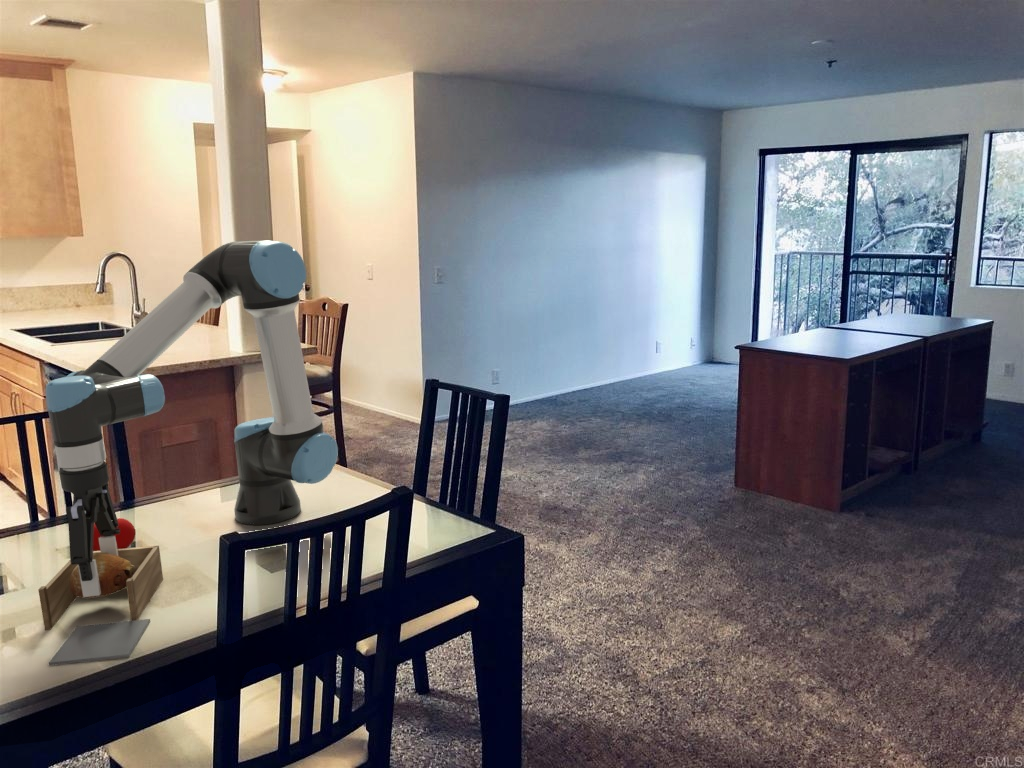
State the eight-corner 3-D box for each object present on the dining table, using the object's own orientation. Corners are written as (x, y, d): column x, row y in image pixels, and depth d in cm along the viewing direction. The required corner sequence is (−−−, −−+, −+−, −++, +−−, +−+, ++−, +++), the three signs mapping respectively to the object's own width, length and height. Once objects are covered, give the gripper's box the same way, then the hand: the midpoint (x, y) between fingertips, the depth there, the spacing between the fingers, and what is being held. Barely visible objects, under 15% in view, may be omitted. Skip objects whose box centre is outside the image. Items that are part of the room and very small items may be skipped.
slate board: (150, 621, 140) (149, 618, 140) (128, 657, 129) (128, 654, 129) (77, 628, 139) (77, 626, 139) (49, 665, 127) (48, 662, 127)
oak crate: (163, 578, 157) (158, 542, 156) (136, 621, 141) (130, 581, 139) (82, 586, 155) (76, 549, 154) (44, 630, 138) (38, 589, 137)
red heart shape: (89, 579, 158) (82, 531, 156) (89, 566, 165) (82, 520, 163) (140, 568, 163) (134, 522, 161) (138, 556, 169) (132, 511, 167)
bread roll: (100, 592, 151) (75, 558, 149) (148, 567, 150) (123, 532, 149) (77, 618, 141) (50, 582, 139) (127, 591, 141) (101, 554, 139)
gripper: (83, 448, 151) (101, 558, 155) (32, 488, 129) (55, 614, 134) (125, 444, 152) (142, 554, 157) (82, 483, 130) (103, 609, 135)
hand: (102, 581), depth 145 cm, fingers closed on bread roll, 10 cm apart
